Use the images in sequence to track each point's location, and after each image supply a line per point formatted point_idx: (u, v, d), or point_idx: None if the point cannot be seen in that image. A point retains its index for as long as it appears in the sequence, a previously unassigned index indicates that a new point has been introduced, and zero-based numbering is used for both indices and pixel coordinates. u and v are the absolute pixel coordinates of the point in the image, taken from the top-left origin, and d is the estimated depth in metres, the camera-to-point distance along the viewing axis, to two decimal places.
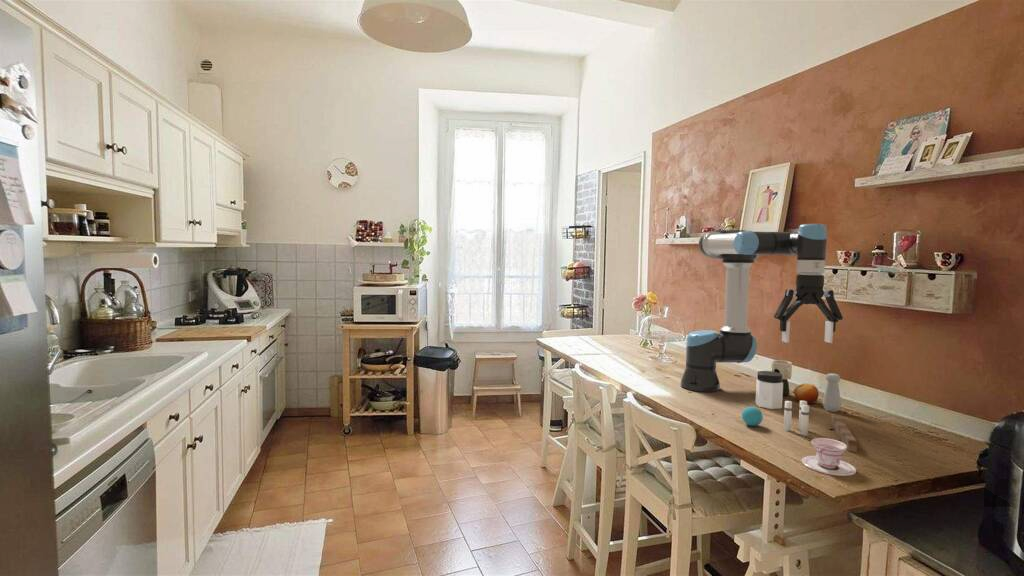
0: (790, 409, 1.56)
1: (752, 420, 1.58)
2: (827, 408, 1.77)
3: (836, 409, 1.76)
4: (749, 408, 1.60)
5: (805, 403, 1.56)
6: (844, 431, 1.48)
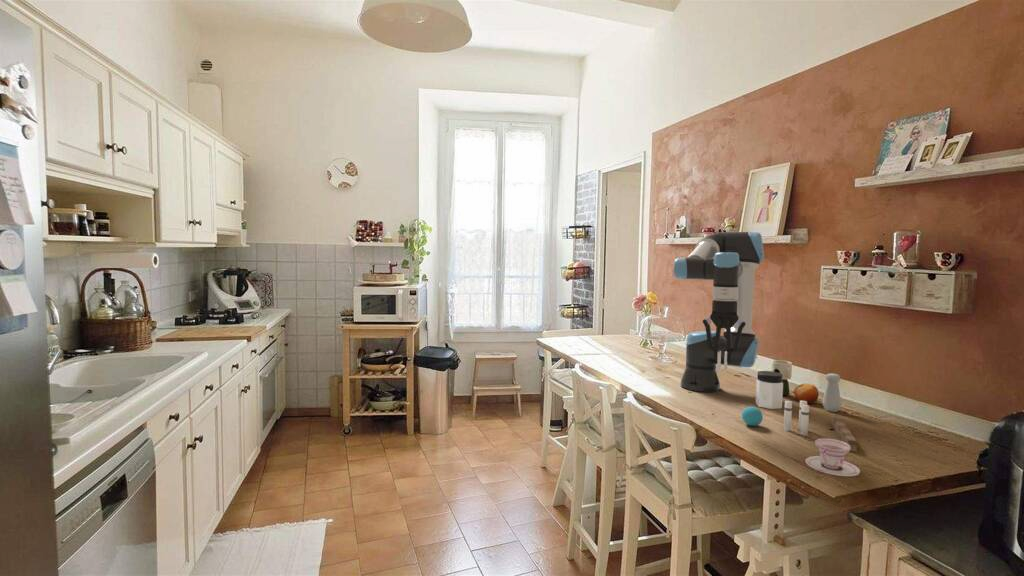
0: (790, 409, 1.56)
1: (752, 420, 1.58)
2: (827, 408, 1.77)
3: (836, 409, 1.76)
4: (749, 408, 1.60)
5: (805, 403, 1.56)
6: (844, 431, 1.48)
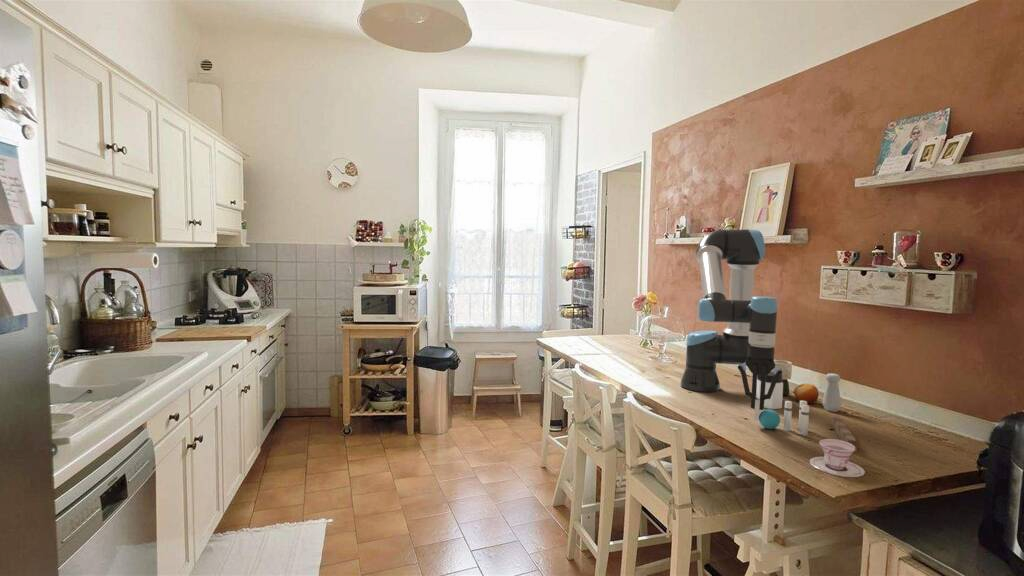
0: (790, 409, 1.56)
1: (767, 423, 1.56)
2: (827, 408, 1.77)
3: (836, 409, 1.76)
4: (776, 415, 1.56)
5: (805, 403, 1.56)
6: (844, 431, 1.48)
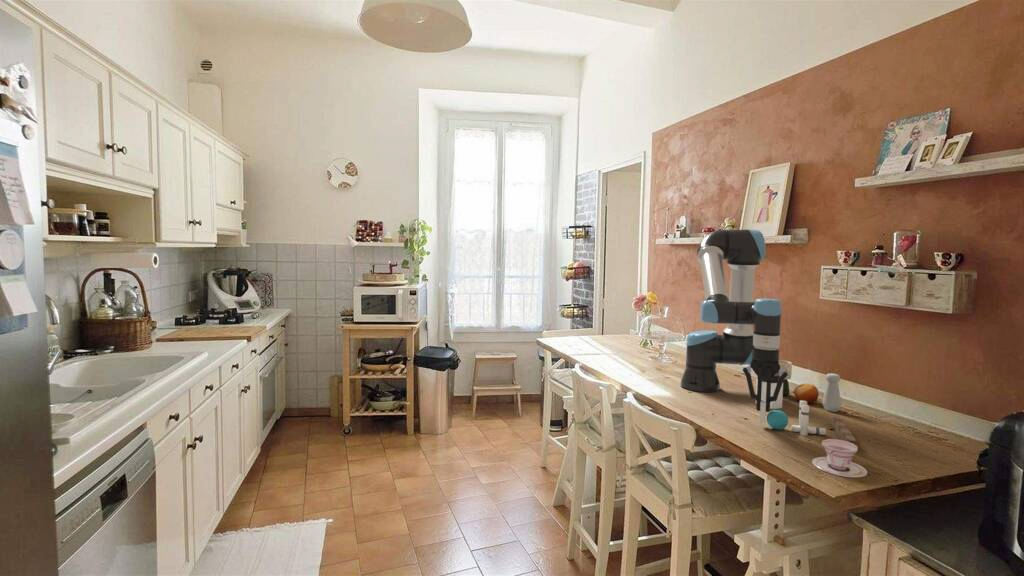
0: None
1: (775, 420, 1.55)
2: (827, 408, 1.77)
3: (836, 409, 1.76)
4: (787, 418, 1.56)
5: (805, 403, 1.56)
6: (844, 431, 1.48)
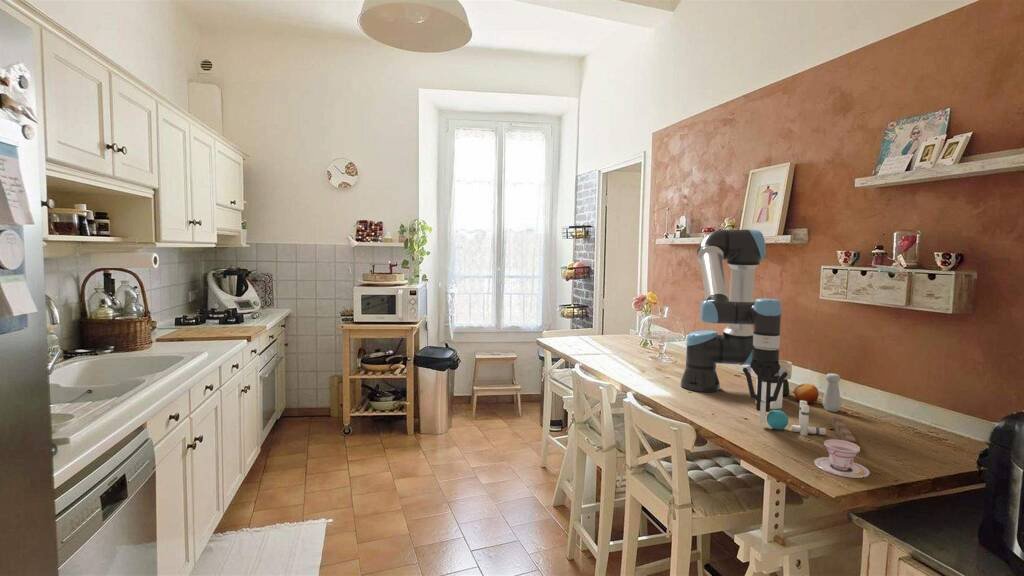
0: None
1: (775, 420, 1.55)
2: (827, 408, 1.77)
3: (836, 409, 1.76)
4: (787, 418, 1.56)
5: (805, 403, 1.56)
6: (844, 431, 1.48)
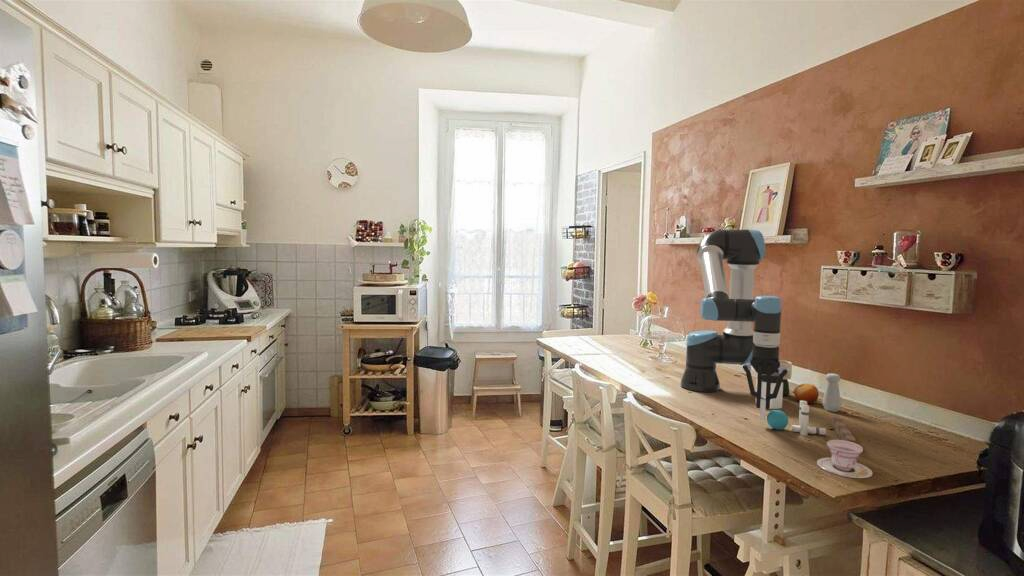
0: None
1: (775, 420, 1.55)
2: (827, 408, 1.77)
3: (836, 409, 1.76)
4: (787, 418, 1.56)
5: (805, 403, 1.56)
6: (844, 431, 1.48)
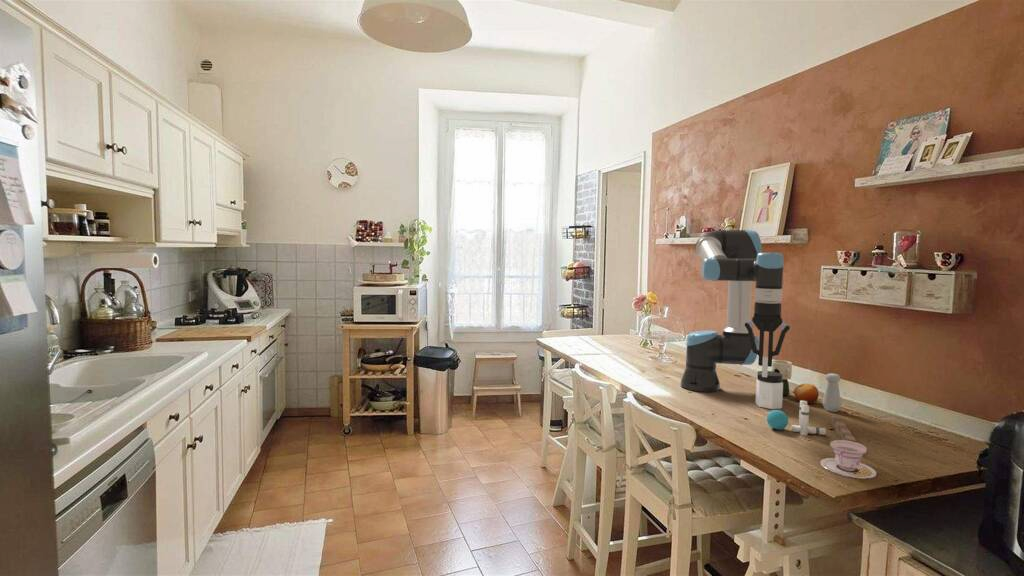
0: None
1: (775, 420, 1.55)
2: (827, 408, 1.77)
3: (836, 409, 1.76)
4: (787, 418, 1.56)
5: (805, 403, 1.56)
6: (844, 431, 1.48)
